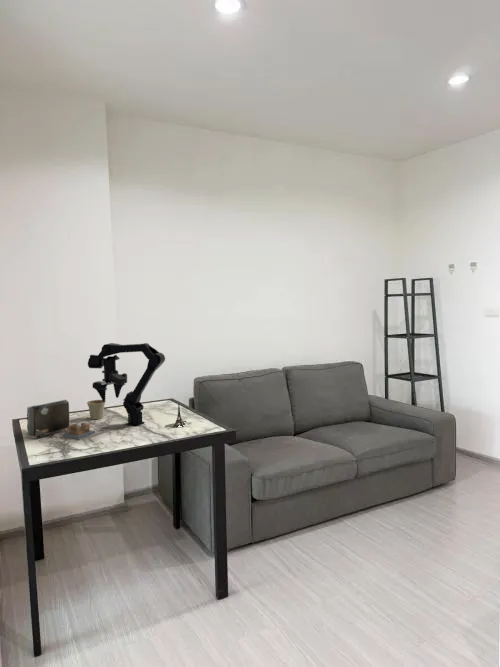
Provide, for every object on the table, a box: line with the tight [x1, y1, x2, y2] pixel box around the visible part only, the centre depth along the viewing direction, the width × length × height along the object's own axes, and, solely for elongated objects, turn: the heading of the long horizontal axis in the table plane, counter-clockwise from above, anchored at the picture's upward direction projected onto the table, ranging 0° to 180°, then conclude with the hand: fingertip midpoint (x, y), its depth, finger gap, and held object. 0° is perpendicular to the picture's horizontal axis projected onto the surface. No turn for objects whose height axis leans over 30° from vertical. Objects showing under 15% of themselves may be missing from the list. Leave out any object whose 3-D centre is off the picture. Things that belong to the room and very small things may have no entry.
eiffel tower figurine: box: [164, 401, 187, 429], centre depth 234 cm, size 15×10×13 cm
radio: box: [25, 399, 70, 439], centre depth 223 cm, size 23×9×15 cm, turn 149°
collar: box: [67, 422, 91, 435], centre depth 219 cm, size 7×7×4 cm
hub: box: [62, 422, 96, 440], centre depth 219 cm, size 10×10×5 cm
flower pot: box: [86, 399, 107, 420], centre depth 249 cm, size 9×9×9 cm
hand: (110, 399), depth 238 cm, fingers open, 9 cm apart
